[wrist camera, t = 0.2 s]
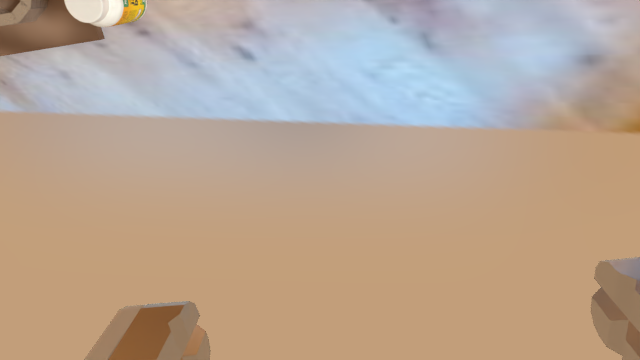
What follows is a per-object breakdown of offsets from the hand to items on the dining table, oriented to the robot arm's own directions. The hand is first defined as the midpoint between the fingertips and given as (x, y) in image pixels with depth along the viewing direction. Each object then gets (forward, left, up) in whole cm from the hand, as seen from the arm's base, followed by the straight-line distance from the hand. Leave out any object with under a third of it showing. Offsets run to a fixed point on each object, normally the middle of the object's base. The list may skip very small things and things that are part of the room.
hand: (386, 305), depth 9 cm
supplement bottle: (-9, -27, -48) cm, 55 cm away
